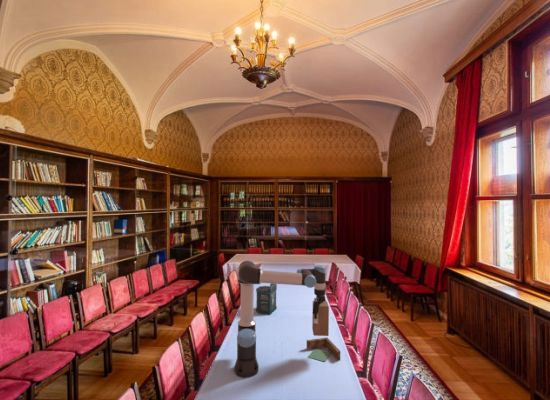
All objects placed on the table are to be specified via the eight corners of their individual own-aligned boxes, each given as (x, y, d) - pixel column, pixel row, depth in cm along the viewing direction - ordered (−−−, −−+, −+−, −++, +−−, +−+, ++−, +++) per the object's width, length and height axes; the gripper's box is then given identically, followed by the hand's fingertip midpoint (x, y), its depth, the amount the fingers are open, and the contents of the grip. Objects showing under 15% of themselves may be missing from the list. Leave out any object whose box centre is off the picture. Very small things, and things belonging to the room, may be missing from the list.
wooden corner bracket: (318, 363, 194) (318, 354, 194) (306, 348, 213) (306, 340, 213) (340, 360, 199) (340, 351, 198) (327, 345, 218) (327, 337, 218)
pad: (324, 362, 196) (324, 361, 196) (307, 357, 202) (307, 356, 202) (330, 353, 207) (330, 353, 207) (314, 349, 212) (314, 348, 212)
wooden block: (312, 329, 209) (312, 300, 209) (326, 329, 209) (327, 301, 208) (313, 335, 199) (313, 305, 199) (328, 336, 199) (328, 306, 198)
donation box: (270, 315, 273) (270, 284, 272) (254, 312, 279) (254, 282, 278) (276, 308, 288) (276, 279, 287) (261, 306, 294) (261, 278, 293)
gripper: (318, 294, 191) (318, 327, 191) (331, 284, 213) (330, 314, 213) (307, 292, 195) (307, 325, 195) (320, 283, 216) (320, 312, 217)
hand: (319, 319), depth 204 cm, fingers closed on wooden block, 13 cm apart
